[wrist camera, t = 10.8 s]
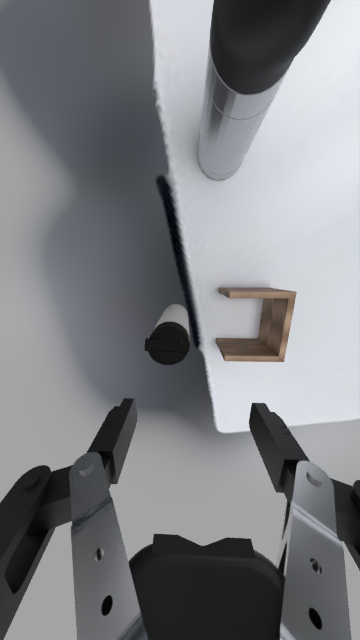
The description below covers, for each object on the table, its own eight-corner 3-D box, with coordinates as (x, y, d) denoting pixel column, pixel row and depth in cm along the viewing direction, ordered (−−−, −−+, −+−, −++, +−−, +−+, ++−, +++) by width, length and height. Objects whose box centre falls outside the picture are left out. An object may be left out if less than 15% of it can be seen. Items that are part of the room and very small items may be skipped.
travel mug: (163, 301, 42) (145, 324, 23) (189, 305, 42) (193, 330, 23) (161, 325, 44) (142, 364, 25) (186, 328, 44) (186, 370, 25)
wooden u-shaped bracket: (219, 287, 41) (230, 291, 31) (269, 287, 41) (296, 291, 31) (216, 342, 45) (224, 361, 35) (262, 342, 44) (283, 361, 35)
